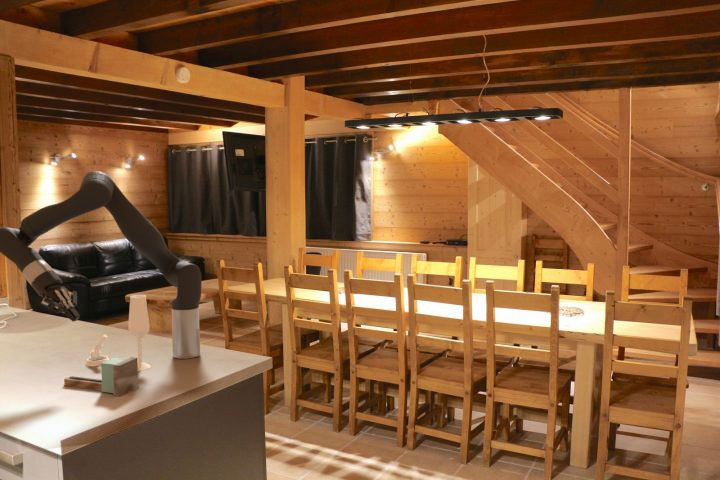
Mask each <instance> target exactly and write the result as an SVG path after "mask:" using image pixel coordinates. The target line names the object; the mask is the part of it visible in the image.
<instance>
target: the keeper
mask: <svg viewBox="0 0 720 480" xmlns="http://www.w3.org/2000/svg"><path fill="white" fill-rule="evenodd" d="M126 359H127V358H125V357H112V358H111V359H109V360H108V361H105V362H103V363H101V366H100V369H101V370H100V371H101V380H102V390H101V392H103V393H108V394H110V393H111V394H114V376H113V365H114V364H117V363H119V362H121V361H124V360H126Z"/></svg>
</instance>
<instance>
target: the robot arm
mask: <svg viewBox="0 0 720 480" xmlns="http://www.w3.org/2000/svg"><path fill="white" fill-rule="evenodd" d="M103 207H104V208H105V209H106V210H107V211H108V213H109V214H111V216H112V218H113V219H114V222H115V223H116V224H117V227H118V229H119V230H120V232H121V233H122V235H123V236H124V238H125V239H126V240H127V241H128V242H129V243H130V244H131V245H132V246H133V247H134V248H135V249H136V250H137V251H139V252H140V253H141V254H142V255H143V256H144V257H145V258H146V259H147V260H148V261H149V262H151V263H152V264H153V265H154V267H155V268H156V269H157V270H158V271H159V272H160V274H161V275H162V276H163V277H164V278H165V279H166V281H167V282H168V283H169V284H170V285H171V286H173V287H175V288H177V289H176V290H177V291H176V292H177V293H176V294H177V295H176V298H173V299H172V300H171V331H172V332H171V333H172V335H171V336H172V357H173V358H175V359H181V360H182V359H183V360H185V359H192V358H196V357H201V329H200V301H201V298H202V271H201V269H200V267H199V266H198V265H196V264H194V263H191V262H185V261H182V260H181V259H180V258H178V257H177V256H176V255H175V254H174V253H173V252H172V251H171V250H170V249H169V248H168V246H167V244H166V242H165V239H164V237H163V235H162V233H161V232H160V231H159V230H158V228H157V227H156V226H155V225H154V224H153V223H152V222H151V221H150V220H149V219H148V218H147V217H145V215H143V213H142V212H141V211H140V210H139V209H138V208H137V207H136V206H135V205H134V204H133V203H132V202H131V201H130V200H129V199H128V198H127V197H126V195H125V194H124V193H123V192H122V191H121V189H120V188H119V186H118V185H117V183H115V181H114V180H113V179H112V178H111V177H110V176H109V175H108V174H106V173H104V172H102V171H98V170H92V171H89V172H87V173H86V174H85V176H83V178H82V181H81V184H80V186H79V189H78V190H76V192H74V194H72V195H71V196H70V197H69V198H67V199H65V200H63V201H61V202H58V203H54V204H50V205H46V206H44V207H42V208H39V209H38V210H36V211H34V212H32V213H31V214H29V215H27V216H26V217H24V218H22V220H21V222H20V226H19V227H16V228H13V227H8V226H6V227H5V226H4V227H3V226H1V227H0V253H1V254H2V255H3V256H4V257H6V258H7V259H8V260H9V261H11V262H12V263H14V265H15V266H16V267H17V269H19V271H20V272H21V273H22V275H23V276H24V279H26V281H27V282H28V283H29V284H30V286H31V287H32V289H34V291H35V292H36V293H37V295H39V297H42V298H43V299H42V301H41V302H40V305H41V306H42V307H44V308H46V309H49V310H50V311H52V312H55V313H57V314H60V313H62V314H64V315H66V316H67V318H68V319H69V320H70V321H71V322H72V323H73V322H76V321H78V320H79V319H80V318H81V315H80V313H79V312H78V311H77V309H76V308H75V307H76V306H77V305H78V291H76V290H73V291H72V292H71V291H69V290H68V288H66V287H65V286H64V285H63V280H62V279H61V278H60V276H59V275H58V274H57V272H55V271H54V269H53V268H52V267H51V266H50V265H49V263H47V262H46V261H45V259H44V258H43V257H42V256H41V255H40V253H39V252H38V251H37V250H35V248H32V247H30V246H31V245H32V243H34V242H35V241H36V240H37V239H38V238H39V237H40V236H42V235H45V234H46V233H48V232H51V230H53V229H55V228H57V227H59V226H60V225H62V224H64V223H66V222H68V221H71V220H72V219H75V218H77V217H80V216H82V215H85V214H87V213H91V212H93V211H96V210H98V209H101V208H103Z"/></svg>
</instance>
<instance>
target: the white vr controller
mask: <svg viewBox="0 0 720 480" xmlns="http://www.w3.org/2000/svg"><path fill="white" fill-rule="evenodd" d="M107 339H108V336H107V334H103V335H102V336H101V337H100V339H99V340H98V342H97V343H96V345H95V347H94V348H93V349H92V350H91V352H90V353H89V356H90V357H88V358H87V359H86V361H85V364H84V365H85V366H87V367H99V366H100V367H101V363H103V362H105V361H108V360H110V359H109V357H108V356H107V355H102V353H101V348H102V346H103V345H104V344H105V342H106V341H107Z"/></svg>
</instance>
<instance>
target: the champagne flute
mask: <svg viewBox="0 0 720 480" xmlns="http://www.w3.org/2000/svg"><path fill="white" fill-rule="evenodd" d="M129 299H130V300H129V309H128V310H129V312H128V326H127V329H128V330H127V331H128V334H130V335H131V336H132V337H133V338H134V339H136V340H137V362H138V372H139V371H145V370H149V369H150V368H151V367H152V366H151V365H150V364H148V363H146V362H144V361H143V358H142V357H143V356H142V355H143V353H142V352H143V351H142V339H143V338H145V337H146V336H147V335H148V333H149V331H150V329H151V327H150V319H149V318H150V317H149V309H148V304H147V303H148V302H147V295H145V294H136V295H135V294H133V295H130V297H129Z"/></svg>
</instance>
